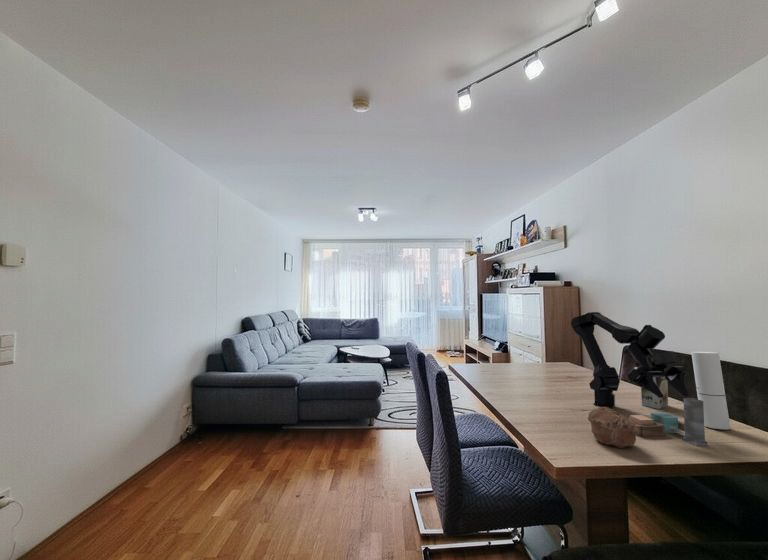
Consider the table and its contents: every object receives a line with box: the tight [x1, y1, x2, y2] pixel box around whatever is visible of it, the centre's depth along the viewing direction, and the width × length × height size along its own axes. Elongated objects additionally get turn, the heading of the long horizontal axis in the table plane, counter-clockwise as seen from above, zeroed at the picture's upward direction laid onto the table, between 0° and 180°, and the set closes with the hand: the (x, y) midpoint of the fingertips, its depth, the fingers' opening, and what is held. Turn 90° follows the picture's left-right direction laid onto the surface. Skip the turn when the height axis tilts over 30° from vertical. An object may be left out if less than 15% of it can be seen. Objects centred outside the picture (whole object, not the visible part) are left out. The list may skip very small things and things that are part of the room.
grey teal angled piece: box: [650, 397, 709, 446], centre depth 109 cm, size 14×5×13 cm, turn 6°
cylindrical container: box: [691, 351, 731, 430], centre depth 118 cm, size 7×7×25 cm
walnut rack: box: [635, 420, 685, 437], centre depth 113 cm, size 8×18×3 cm, turn 96°
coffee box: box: [640, 367, 669, 410], centre depth 141 cm, size 9×6×16 cm
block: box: [629, 414, 654, 425], centre depth 113 cm, size 4×4×4 cm
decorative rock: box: [587, 406, 639, 449], centre depth 103 cm, size 13×11×10 cm
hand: (674, 396), depth 110 cm, fingers open, 9 cm apart
